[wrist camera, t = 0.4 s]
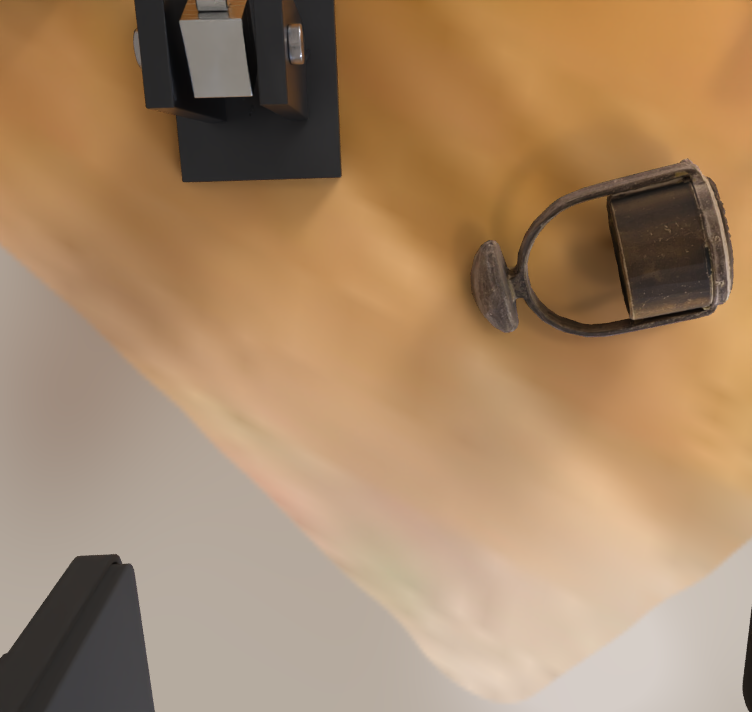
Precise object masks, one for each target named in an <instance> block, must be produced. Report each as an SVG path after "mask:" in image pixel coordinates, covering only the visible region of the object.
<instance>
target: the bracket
mask: <svg viewBox="0 0 752 712" xmlns="http://www.w3.org/2000/svg"><path fill="white" fill-rule="evenodd" d="M134 2H135V11H136V20H137V29H135V31H134V36H133V43H134V52H135V56H136V60H137V63H138V65H139V67H140V68H141V69H142V75H143V85H144V94H145V103H146V108H148V109H151V110H156V111H160V112H164V113H168V114H172V115H176V121H177V131H178V141H179V152H180V162H181V172H182V181H183V182H212V181H243V180H274V179H306V178H337V177H341V176H342V169H341V145H340V121H339V97H338V73H337V49H336V25H335V1H334V0H249V3H250V11H251V19H252V26H253V34H254V41H255V49H256V56H257V70H258V71H257V77H256V82H255V88H254V93H253V96H250V97H217V98H194V96H193V91H192V86H191V81H190V76H189V71H188V66H187V61H186V56H185V51H184V46H183V41H182V37H181V32H180V27H179V19H180V17H181V14H182V12H183V9H184V7H185V4H186V2H187V0H134Z"/></svg>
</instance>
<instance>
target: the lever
mask: <svg viewBox="0 0 752 712" xmlns="http://www.w3.org/2000/svg"><path fill="white" fill-rule="evenodd" d="M179 27H180V32H181V37H182V41H183V46H184V51H185V56H186V61H187V66H188V71H189V76H190V81H191V86H192V91H193V96H194V98H217V97H250V96H253V93H254V88H255V82H256V77H257V71H258V70H257V56H256V49H255V41H254V34H253V26H252V19H251V11H250V3H249V0H187V2H186V4H185V7H184V9H183V12H182V14H181V17H180V19H179Z"/></svg>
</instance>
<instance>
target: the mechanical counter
mask: <svg viewBox="0 0 752 712" xmlns="http://www.w3.org/2000/svg"><path fill="white" fill-rule="evenodd" d="M607 195H608V197H607V211H608V220H609V228H610V233H611V237H612V241H613V246H614V251H615V257H616V261H617V265H618V271H619V277H620V282H621V287H622V292H623V296H624V301H625V305H626V308H627V311H628V313H629V317H630V318H629V319H625V320H620V321H615V322H610V323H603V324H593V325H590V324H582V323H579V322H576V321H573V320H570V319H567V318H565V317H562V316H559V315H557V314H555V313H554V312H552V311H551V310H549V309H548V308H547V307H546V306H545V305H544V304H543V303H542V302H541V301H540V300H539V299H538V297H537V296H536V294H535V292H534V291H533V289H532V288H531V284H530V281H529V277H528V267H527V263H528V258H529V253H530V250H531V248H532V246H533V243H534V241H535V239H536V237H537V236H538V234H539V233H540V231H541V230H542V229H543V228H544V227H545V226H546V224H547V223H548V222H549V221H550V220H551V219H553V218H554V217H555V216H556V215H558V214H559V213H560V212H562V211H564V210H565V209H567V208H569V207H571V206H573V205H576V204H579V203H582V202H585V201H589V200H593V199H596V198H600V197H604V196H607ZM728 230H729V227H728V225H727V219H726V217H725V210H724V208H723V203H722V202H721V201H720V197H719V193H718V190H717V188H716V184H715V183H714V182H713V181H712V180H711V179H710V178H709V177H706V176H704V175H703V174H702V172H701V171H700V169H699V167H698V166H697V165H695V164H693V162H692V161H690V160H689V159H684V160H682V161H681V162H680V163H677V164H673V165H669V166H665V167H661V168H657V169H653V170H649V171H645V172H641V173H637V174H634V175H630V176H626V177H622V178H618V179H614V180H610V181H606V182H602V183H599V184H595V185H592V186H588V187H585V188H582V189H580V190H577V191H575V192H572V193H569V194H567V195H565V196H563V197H560V198H559V199H557V200H556V201H554V202H553V203H552V204H551V205H550V206H549V207H548V208H547V209H546V210H545V211H544V212H543V213H542V214H541V215H540V216H539V217H538V218H537V219H536V220H535V221H534V222H533V223H532V225H531V226H530V228H529V229H528V231H527V232H526V234H525V236H524V238H523V241H522V244H521V247H520V249H519V252H518V261H517V265H516V266H515V267H513V268H508V267H507V265H506V263H505V260H504V257H503V254H502V252H501V249H500V246H499V244H498V243H497V242H496V241H493V240H489V241H487V242H485V243H484V244H483V245H481V247H480V248H479V250H478V252H477V253H476V255H475V257H474V261H473V266H472V270H471V290H472V294H473V297H474V299H475V301H476V304H477V306H478V308H479V309H480V311H481V313H482V314H483V315H484V316H485V318H486V319H487V320H488V321H489V322H490V323H491V324H492V325H493V326H494V327H496V328H497V329H499V330H501V331H503V332H512V331H514V330H515V329H516V328H517V326H518V323H519V320H518V314H517V308H516V299H518V298H523V299H524V300H525V302H526V303H527V304H528V306H529V307H530V308H531V309H532V310H533V312H534V313H535V314H536V315H537V316H538V317H539V318H540V319H541V320H542V321H544V322H545V323H547V324H549V325H551V326H552V327H554V328H556V329H558V330H561V331H563V332H566V333H571V334H575V335H579V336H584V337H605V336H612V335H618V334H623V333H628V332H633V331H638V330H643V329H648V328H653V327H658V326H662V325H667V324H672V323H677V322H682V321H687V320H691V319H696V318H700V317H704V316H708V315H710V314H712V313H713V312H714V311H715V310H716V308H717V305H720V304H723V303H724V302H726V301H727V300H728V297H729V295H730V292H731V290H732V284H733V250H732V246H731V240H730V237H731V236H730V234H729V233H728Z"/></svg>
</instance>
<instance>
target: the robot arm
mask: <svg viewBox="0 0 752 712" xmlns="http://www.w3.org/2000/svg"><path fill="white" fill-rule="evenodd" d="M743 696H744V700H745V703H746V706H747V708H748V710H749V712H752V609H751V618H750V626H749V635H748V643H747V652H746V660H745V668H744V677H743ZM0 712H155V710H154V703H153V697H152V690H151V683H150V676H149V669H148V663H147V655H146V648H145V641H144V635H143V628H142V621H141V614H140V607H139V601H138V594H137V586H136V580H135V573H134V569H133V566H132V565H131V564H122V562H121V559H120V557H119V556H118V555H117V554H111V555H89V556H77V557H76V558H75V559H74V560H73V561H72V562H71V564H70V565H69V567H68V568H67V570H66V571H65V573H64V574H63V575H62V577H61V578H60V579H59V581H58V582H57V584H56V585H55V586H54V588H53V589H52V591H51V592H50V594H49V595H48V597H47V598H46V599H45V601H44V602H43V604H42V605H41V606H40V608H39V609H38V611H37V612H36V614H35V615H34V616H33V618H32V619H31V621H30V622H29V624H28V625H27V626H26V628H25V629H24V630H23V632H22V633H21V635H20V636H19V638H18V639H17V640H16V642H15V643H14V645H13V646H12V648H11V649H10V650H9V652H8V653H6V654H4V655H3V656H2V657H1V658H0Z"/></svg>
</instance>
